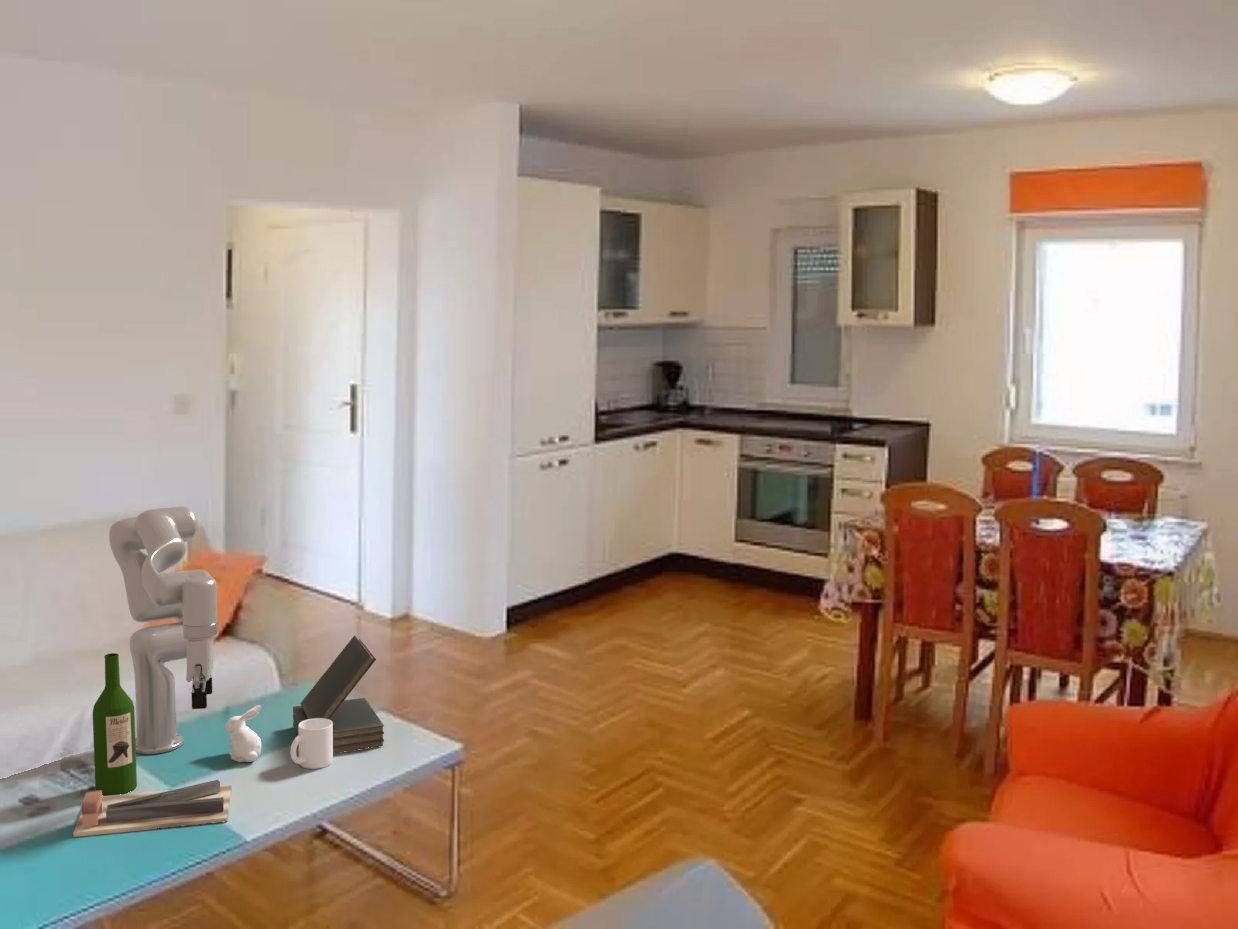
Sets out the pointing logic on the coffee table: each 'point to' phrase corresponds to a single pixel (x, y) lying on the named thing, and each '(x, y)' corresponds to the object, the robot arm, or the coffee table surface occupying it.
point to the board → (152, 821)
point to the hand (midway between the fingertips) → (202, 701)
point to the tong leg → (174, 795)
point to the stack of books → (344, 701)
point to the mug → (314, 743)
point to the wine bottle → (114, 735)
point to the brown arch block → (91, 808)
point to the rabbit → (244, 737)
